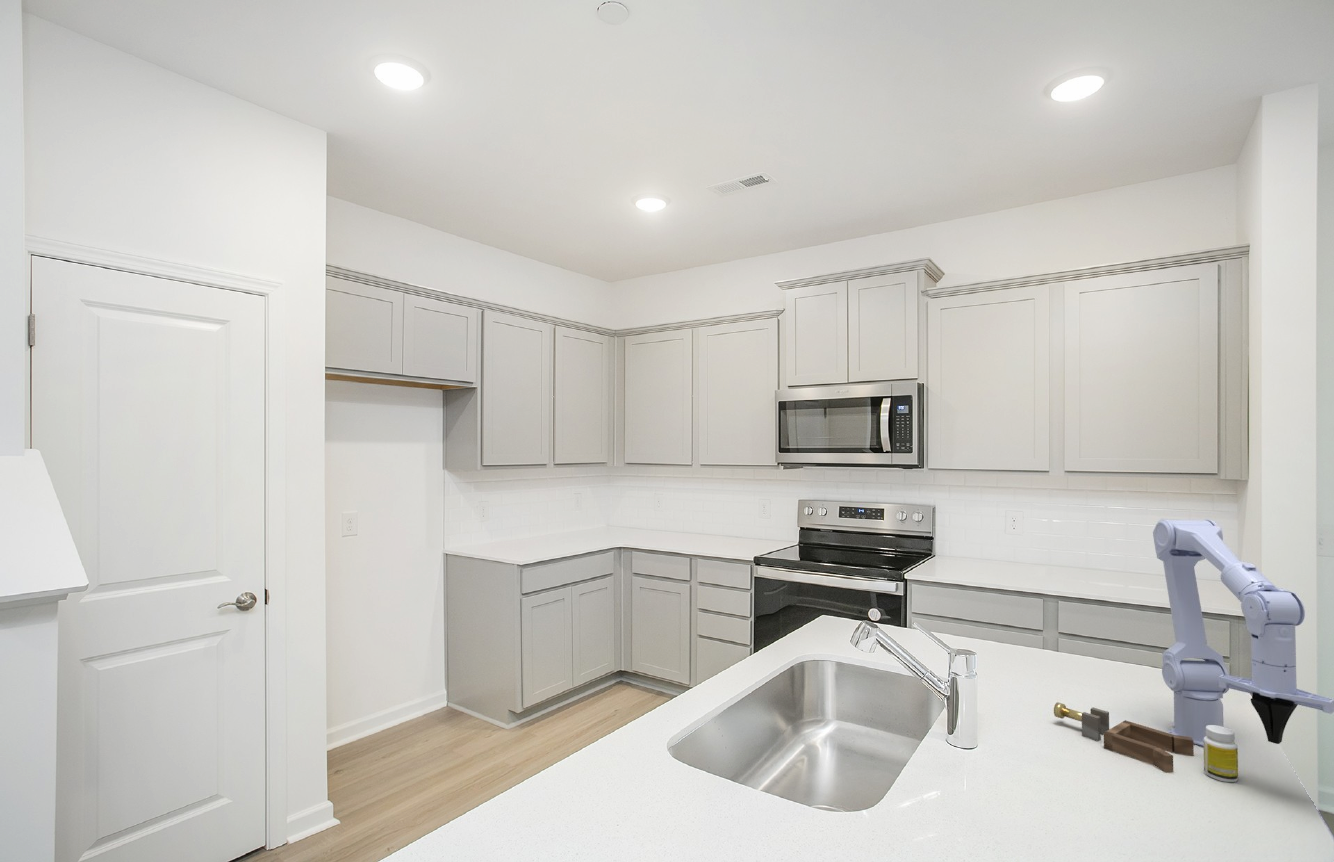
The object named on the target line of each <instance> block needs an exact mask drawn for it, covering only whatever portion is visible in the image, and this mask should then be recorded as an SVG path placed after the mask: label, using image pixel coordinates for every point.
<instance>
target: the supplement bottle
mask: <svg viewBox="0 0 1334 862" xmlns="http://www.w3.org/2000/svg"><path fill="white" fill-rule="evenodd" d="M1206 735H1207V736H1205V737H1204V740H1203V743H1204V746H1203V772H1204V774H1205V775H1207V776H1208V777H1210V778H1212V779H1214V780H1217V781H1221V782H1225V783H1236V782H1237V781H1238V780H1239V763H1238V762H1239V761H1238V760H1239V759H1238V757H1239V755H1238V754H1239V753H1238V744H1237V743H1236V742H1235V740H1236V737H1235V731H1234V730H1233V729H1231V728H1228V727H1226V726H1224V727H1222V726H1217V725H1208V726H1206Z"/></svg>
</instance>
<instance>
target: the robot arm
mask: <svg viewBox="0 0 1334 862" xmlns="http://www.w3.org/2000/svg"><path fill="white" fill-rule="evenodd" d="M1152 536H1153V543H1154V549H1155V553H1156V554H1155V555H1156V559H1157V560H1160V561H1161V562H1162V563H1163V569H1164V575H1165V582H1166V587H1167V595H1168V601H1169V608H1170V612H1171V619H1172V625H1173V632H1174V638H1175V643H1174V644H1173V645H1172V646H1170V647H1168V648H1167V649H1166V650H1165V651H1163V652H1162V667H1161V675H1162V679H1163V681H1164V683H1165V685H1166V686H1167V687H1168V688H1169V689H1170V691H1172V692H1173V726H1174V727H1173V728H1171V729H1170V730H1168V731H1167V732H1166V733H1169V734H1173V735H1179V736H1186V737H1191V738H1192V739H1193V743H1194V745H1198V746H1200V747H1204V743H1203V740H1204V737H1205V736H1207V735H1206V726H1208V725H1217V726H1222V727H1225V725H1224V704H1223V702H1222V699H1224V694H1226V693H1228V692H1229V690H1230V689H1231V690H1235V691H1239V692H1243V693H1248V694H1251V695H1252V697H1251V698H1250V702H1251V705H1252V706H1253V708H1254V710H1255V711H1256V712H1257V715H1258V716H1259V718H1260V721H1261V723H1262V726H1263V727H1264V731H1265V734H1266V738H1267V742H1269V743H1273V744H1276V745H1280V744H1281V743H1282V742H1283V736H1284V731H1285V728H1286V726H1287V723H1288V721H1289V720H1290V718H1291V716H1292V715H1293V713H1294V711H1295V709H1296V708H1297V707H1298V706H1303V707H1306V708H1310V709H1313V710H1318V711H1322V712H1323V713H1326V714H1329V715H1331V714H1333V713H1334V699H1333V698H1330V697H1326V696H1322V695H1318V694H1315V693H1312V692H1308V691H1306V690H1303V689H1298V688H1297V651H1296V650H1297V647H1296V644H1297V643H1296V627H1298V626H1300V625H1301V624H1302V623H1303V622H1304V621H1305V617H1306V610H1305V606H1304V603H1303V601H1302V600H1301V599H1300V597H1299V596H1298V595H1297V594H1296V592H1294V591H1292V590H1284V589H1283V588H1278V587H1277V586H1276V585H1275V584H1274V583H1273V582H1271V581H1270V579H1269V578H1267V577H1266V575H1264V574H1263V573H1262V572H1261V571H1260V570H1259V569H1258V568H1257V566H1256V565H1255V564H1253V563H1251V562H1246V561H1240V559H1239V558H1238V557H1237V556H1236V554H1234V552H1233V551H1232V550H1231V549H1230V547H1229V546H1228V545H1227V543H1225V541H1223V540H1224V537H1223V531H1222V528H1221V527H1219V525H1218V524H1217V523H1216V522H1215V521H1214V520H1212V519H1203V520H1199V519H1197V520H1196V519H1194V520H1193V519H1189V520H1188V519H1165V518H1164V519H1160V520H1159V521H1158V522H1157V523H1156V525H1155V527H1154V529H1153V531H1152ZM1205 559H1206V560H1207V561H1208V562H1209V563H1210V564H1212V565H1213V566H1214V567H1215V568H1216V569H1218V571H1220V572H1221V573H1220V581H1221V582H1222V584H1223V585H1224V586H1225V587H1226V588H1227V589H1228V590H1229V591H1230V592H1231V593H1232V594H1233V595H1234V596H1235V597H1236V599H1237V600H1238V601H1239V602H1240V607H1241V613H1242V615H1243V617H1244V620H1245V624H1246V625H1245V626H1246V629H1247V632H1249V633H1250V660H1251V665H1250V667H1251V671H1250V672H1251V678H1246V677H1239V676H1234V675H1230V673H1229V671H1228V669H1227V667H1226V664H1225V661H1224V656H1223V655H1222V654H1221V653H1219V652H1218V651H1216V650H1215V649H1214V648H1212V647H1211V646H1209V645H1208V640H1207V635H1206V629H1205V623H1204V617H1203V611H1202V606H1201V605H1202V604H1201V599H1200V595H1199V587H1198V583H1197V582H1198V581H1197V577H1196V572H1195V567H1196V565H1197V564H1198V563H1199V562H1201V561H1203V560H1205ZM1185 659H1188V660H1185ZM1190 659H1199V660H1190ZM1200 659H1202V660H1200Z"/></svg>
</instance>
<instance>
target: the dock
mask: <svg viewBox="0 0 1334 862" xmlns="http://www.w3.org/2000/svg"><path fill="white" fill-rule="evenodd" d="M1081 713H1082V722H1081V736H1082V737H1084V738H1087V739H1090V740H1093V741H1097V742H1099V741H1100V740H1101V739H1102V738H1101V737H1102V736H1103V749H1105V750H1108V751H1111V752H1114V753H1116V754H1120V755H1123V756H1125V757H1128V758H1132V759H1134V760H1137V761H1140V762H1143V763H1145V764H1146V763H1147V764H1149V765H1151V766H1152V765H1153V766H1154V767H1156V768H1157V769H1159V770H1161V771H1162V772H1164V773H1174V755H1173V754H1171V753H1174V754H1177V755H1183V756H1190V757H1195V756H1194V755H1195V754H1194V753H1195V752H1194V750H1195V749H1194V745H1195V744H1194V743H1193V739H1192V738H1191V737H1186V736H1179V735H1173V734H1169V733H1167V732H1165V731H1162V730H1159V729H1155V728H1152V727H1149V726H1145V725H1142V724H1139V723H1135V722H1132V721H1129V720H1126V719H1125V720H1123V721H1121V722H1120V723H1117V725H1115V726H1113V727H1111V728H1110V712H1109V711H1106V710H1103V709H1100V708H1098V707H1097V708H1096V707H1091V708H1090V713H1089V712H1086V711H1084V712H1081ZM1169 752H1170V753H1169Z"/></svg>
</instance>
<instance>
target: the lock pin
mask: <svg viewBox="0 0 1334 862" xmlns="http://www.w3.org/2000/svg"><path fill="white" fill-rule="evenodd" d="M1082 713H1083V712H1081V711H1078V710H1074V709H1071V708H1068V707H1067V705H1066V704H1065V703H1061V702H1056V703H1055V704H1054V706H1053V714H1054V717H1056V718H1059V719H1064V718H1068V719H1071V720H1074V721H1078V722H1081V723H1082Z"/></svg>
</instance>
